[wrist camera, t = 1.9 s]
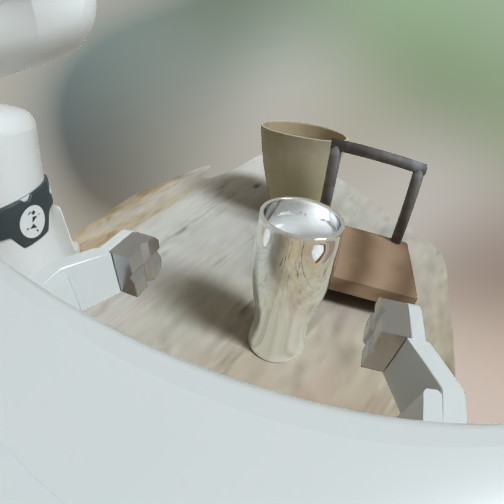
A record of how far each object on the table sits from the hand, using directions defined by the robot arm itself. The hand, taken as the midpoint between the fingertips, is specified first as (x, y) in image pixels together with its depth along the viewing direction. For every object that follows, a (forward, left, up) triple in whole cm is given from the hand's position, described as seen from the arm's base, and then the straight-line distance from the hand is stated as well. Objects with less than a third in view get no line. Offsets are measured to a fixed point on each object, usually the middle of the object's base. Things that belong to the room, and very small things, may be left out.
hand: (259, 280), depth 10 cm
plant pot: (-5, +42, -19) cm, 46 cm away
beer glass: (0, +12, -19) cm, 22 cm away
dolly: (+7, +26, -18) cm, 33 cm away
